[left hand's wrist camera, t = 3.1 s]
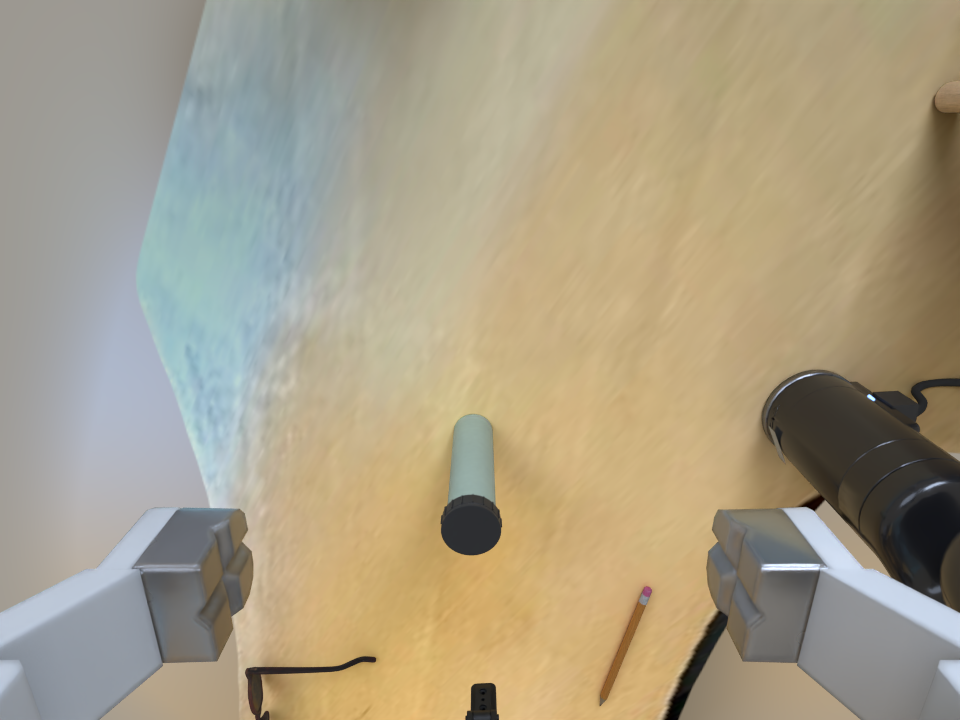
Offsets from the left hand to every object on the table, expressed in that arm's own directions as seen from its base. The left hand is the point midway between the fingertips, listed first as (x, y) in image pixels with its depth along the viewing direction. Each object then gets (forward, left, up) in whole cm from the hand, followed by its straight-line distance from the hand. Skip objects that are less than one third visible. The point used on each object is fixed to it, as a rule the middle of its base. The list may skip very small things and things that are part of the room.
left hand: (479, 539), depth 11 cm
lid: (+23, -1, -32) cm, 39 cm away
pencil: (+52, +17, -48) cm, 73 cm away
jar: (+23, -1, -48) cm, 53 cm away
